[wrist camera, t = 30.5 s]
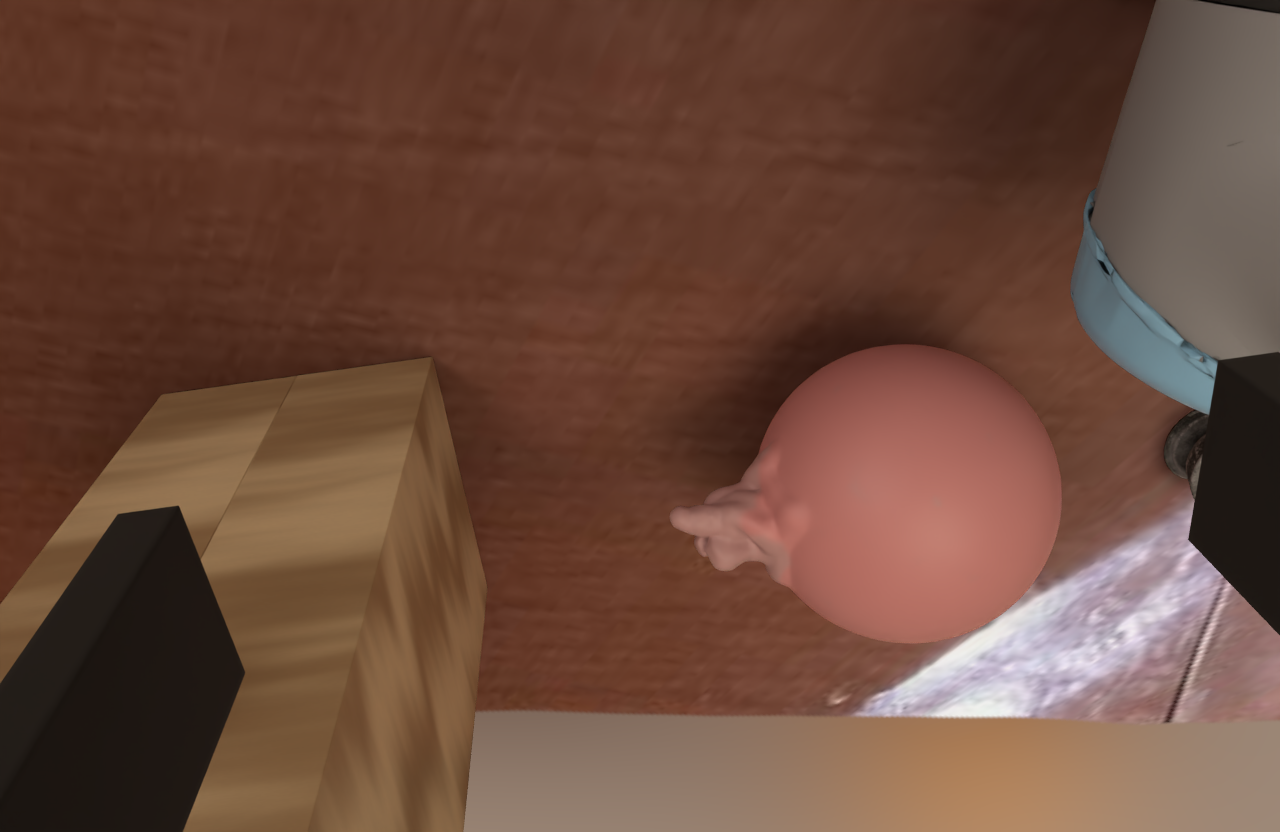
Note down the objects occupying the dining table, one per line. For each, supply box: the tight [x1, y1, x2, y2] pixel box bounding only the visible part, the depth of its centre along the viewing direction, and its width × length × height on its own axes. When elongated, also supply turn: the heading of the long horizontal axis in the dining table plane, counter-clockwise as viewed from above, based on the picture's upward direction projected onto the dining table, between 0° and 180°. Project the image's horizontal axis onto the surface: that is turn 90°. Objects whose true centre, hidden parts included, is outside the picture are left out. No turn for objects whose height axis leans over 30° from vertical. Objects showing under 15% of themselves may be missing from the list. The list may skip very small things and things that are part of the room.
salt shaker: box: [1164, 410, 1209, 499], centre depth 57 cm, size 6×6×12 cm
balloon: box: [670, 344, 1062, 643], centre depth 53 cm, size 15×20×15 cm
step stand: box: [0, 357, 487, 832], centre depth 43 cm, size 16×15×38 cm
